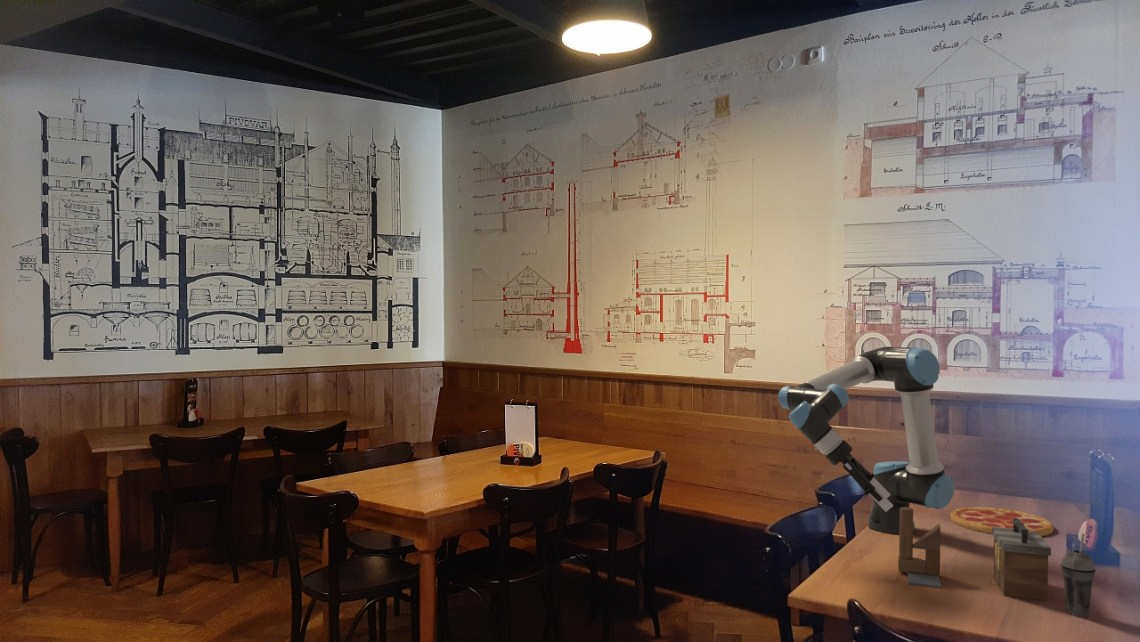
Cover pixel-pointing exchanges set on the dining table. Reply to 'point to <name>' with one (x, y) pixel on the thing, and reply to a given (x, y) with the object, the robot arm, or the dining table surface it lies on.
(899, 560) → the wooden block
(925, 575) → the mat
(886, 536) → the dining table surface
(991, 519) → the pizza
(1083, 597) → the beverage cup
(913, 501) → the robot arm
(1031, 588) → the toolbox
